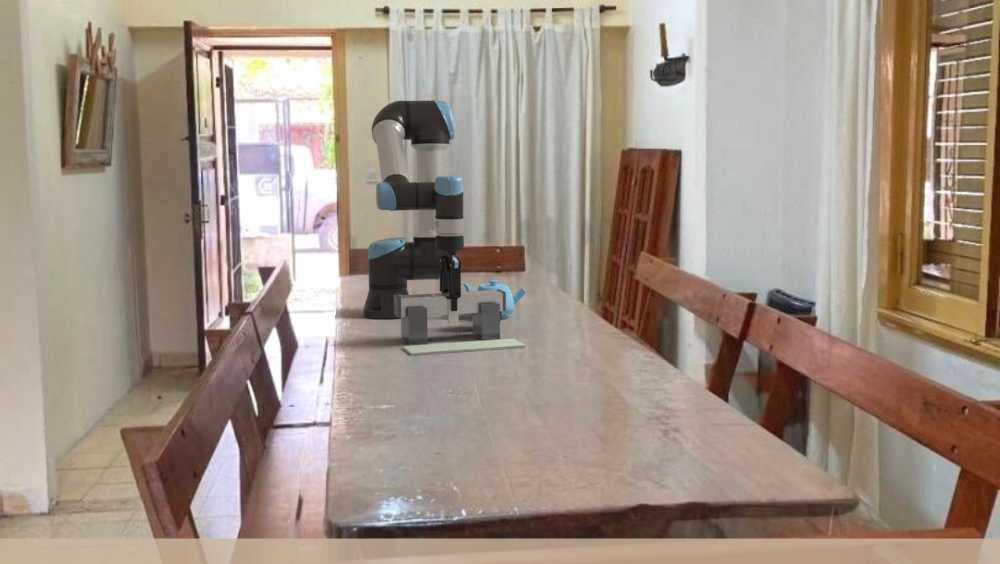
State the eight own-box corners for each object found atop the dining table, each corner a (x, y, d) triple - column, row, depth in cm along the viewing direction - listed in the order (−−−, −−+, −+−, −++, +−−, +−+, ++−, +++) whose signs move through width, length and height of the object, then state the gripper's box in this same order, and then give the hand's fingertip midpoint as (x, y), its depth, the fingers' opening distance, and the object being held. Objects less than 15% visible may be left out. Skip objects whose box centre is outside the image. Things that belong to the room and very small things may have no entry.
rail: (398, 317, 262) (397, 297, 261) (394, 314, 267) (393, 294, 266) (505, 311, 271) (505, 291, 270) (499, 307, 276) (499, 289, 275)
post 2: (472, 333, 276) (472, 299, 275) (489, 332, 278) (489, 298, 277) (482, 339, 268) (482, 304, 267) (500, 338, 269) (499, 303, 268)
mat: (403, 348, 257) (403, 346, 257) (513, 340, 266) (513, 338, 266) (411, 355, 249) (411, 353, 249) (525, 347, 258) (525, 345, 258)
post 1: (401, 338, 270) (400, 303, 269) (419, 337, 272) (418, 302, 270) (409, 344, 262) (408, 309, 260) (427, 343, 263) (427, 307, 262)
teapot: (493, 323, 292) (493, 285, 290) (460, 318, 301) (459, 280, 300) (528, 316, 303) (528, 279, 302) (494, 311, 312) (494, 275, 311)
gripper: (427, 232, 273) (428, 316, 277) (444, 238, 256) (445, 327, 260) (453, 231, 276) (454, 314, 279) (472, 237, 259) (473, 326, 262)
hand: (450, 320), depth 269 cm, fingers closed on rail, 5 cm apart
